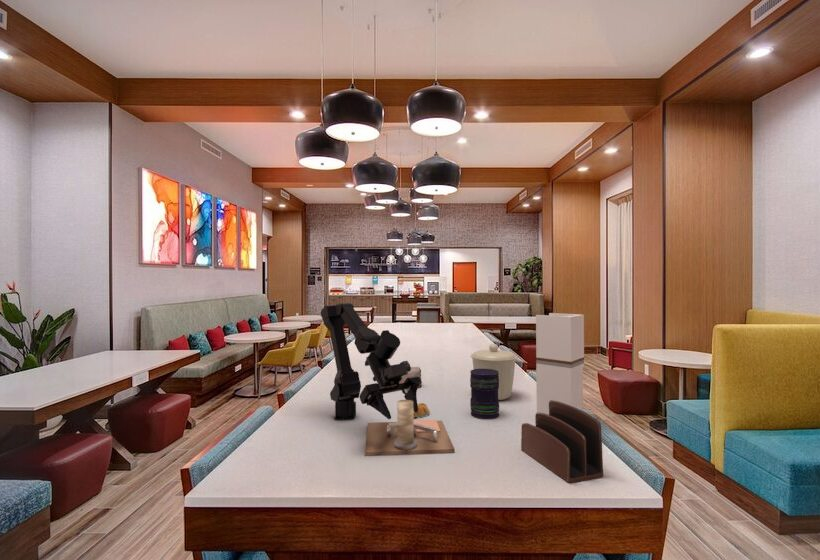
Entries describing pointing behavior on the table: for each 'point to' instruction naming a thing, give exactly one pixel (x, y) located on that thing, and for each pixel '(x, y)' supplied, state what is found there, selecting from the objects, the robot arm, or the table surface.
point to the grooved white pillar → (559, 360)
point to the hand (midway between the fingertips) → (403, 415)
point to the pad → (427, 423)
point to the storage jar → (484, 393)
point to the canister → (497, 367)
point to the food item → (412, 374)
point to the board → (385, 445)
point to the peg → (405, 426)
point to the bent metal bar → (414, 430)
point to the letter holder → (565, 442)
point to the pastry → (421, 410)
